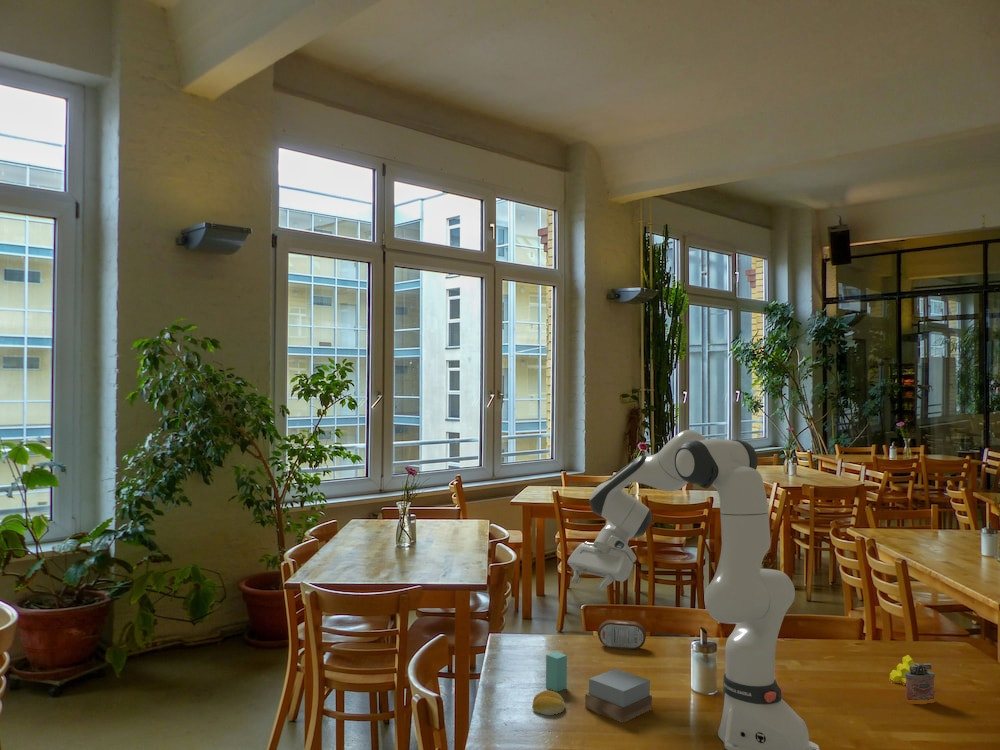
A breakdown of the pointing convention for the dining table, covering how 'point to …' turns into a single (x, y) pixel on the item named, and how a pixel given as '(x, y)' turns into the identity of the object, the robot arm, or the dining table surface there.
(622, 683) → the tower top
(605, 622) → the tin
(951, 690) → the dining table surface
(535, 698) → the bread roll
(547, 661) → the pillar block
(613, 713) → the tower base
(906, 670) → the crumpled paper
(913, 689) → the lighter
